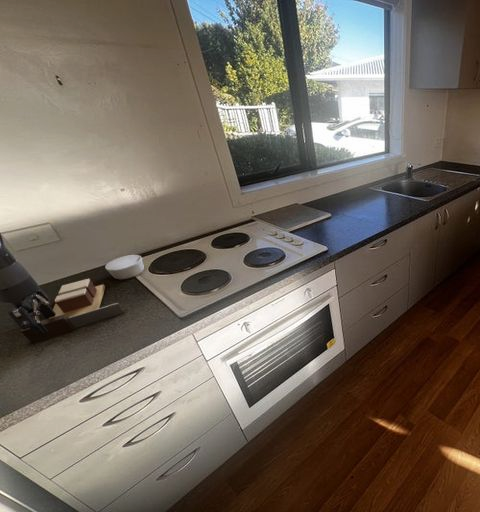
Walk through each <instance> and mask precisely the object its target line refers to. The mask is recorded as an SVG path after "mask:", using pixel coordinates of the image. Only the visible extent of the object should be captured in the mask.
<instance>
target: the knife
mask: <svg viewBox="0 0 480 512" xmlns="http://www.w3.org/2000/svg"><path fill="white" fill-rule="evenodd" d="M121 314H124V310H123V309H122V307H121V306H120V304H119V302H116V303H111V304H109V305H106V306H102V307H100V308H99V309H96V310H92V311H89V312H86V313H82V314H79V315H76V316H72V317H68V316H67V314H63V315H59V316H56V317H53V318H48V319H46V318H45V319H42V320H40V322H41V323H42V324H43V325H44V326H45V328H46V329H47V330H48V333H47V334H45V335H41V336H37V335H36V334H35V333H34V332H33V331H32V330H31V329H30V328H28V329H25V330H22V329H20V333H21V334H22V335H23V337H25V338H26V339H27V340H28V341H29V343H31V345H34V344H36V343H39V342H43V341H45V340H48V339H52V338H55V337H58V336H61V335H64V334H67V333H71V332H73V331H75V329H78V328H81V327H84V326H87V325H90V324H93V323H96V322H101V321H103V320H106V319H109V318H111V317H116V316H118V315H121Z"/></svg>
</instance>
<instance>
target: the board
mask: <svg viewBox="0 0 480 512" xmlns="http://www.w3.org/2000/svg"><path fill="white" fill-rule="evenodd" d="M95 288H96V289H97V291H96V294H95V297H94V298H93V300H94V301H93V304H92V305H90V306H87V307H83V308H80V309H76V310H73V311H70V312H66V313H63V311H62V310H61V309H60V308H59V306H58V305H57V304H56V303H55V304H54V306H53V308H52V310H53V311H54V312H55V313H56V315H55V317H56V316H59V315H63V314H67V316H68V317H72V316H76V315H79V314H82V313H86V312H89V311H92V310H96V309H99V308H101V303H102V300H103V298H104V297H103V296H104V292H105V290H106V286H105V285H104V284H99V285H96V286H95ZM52 318H53V317H52Z"/></svg>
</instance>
